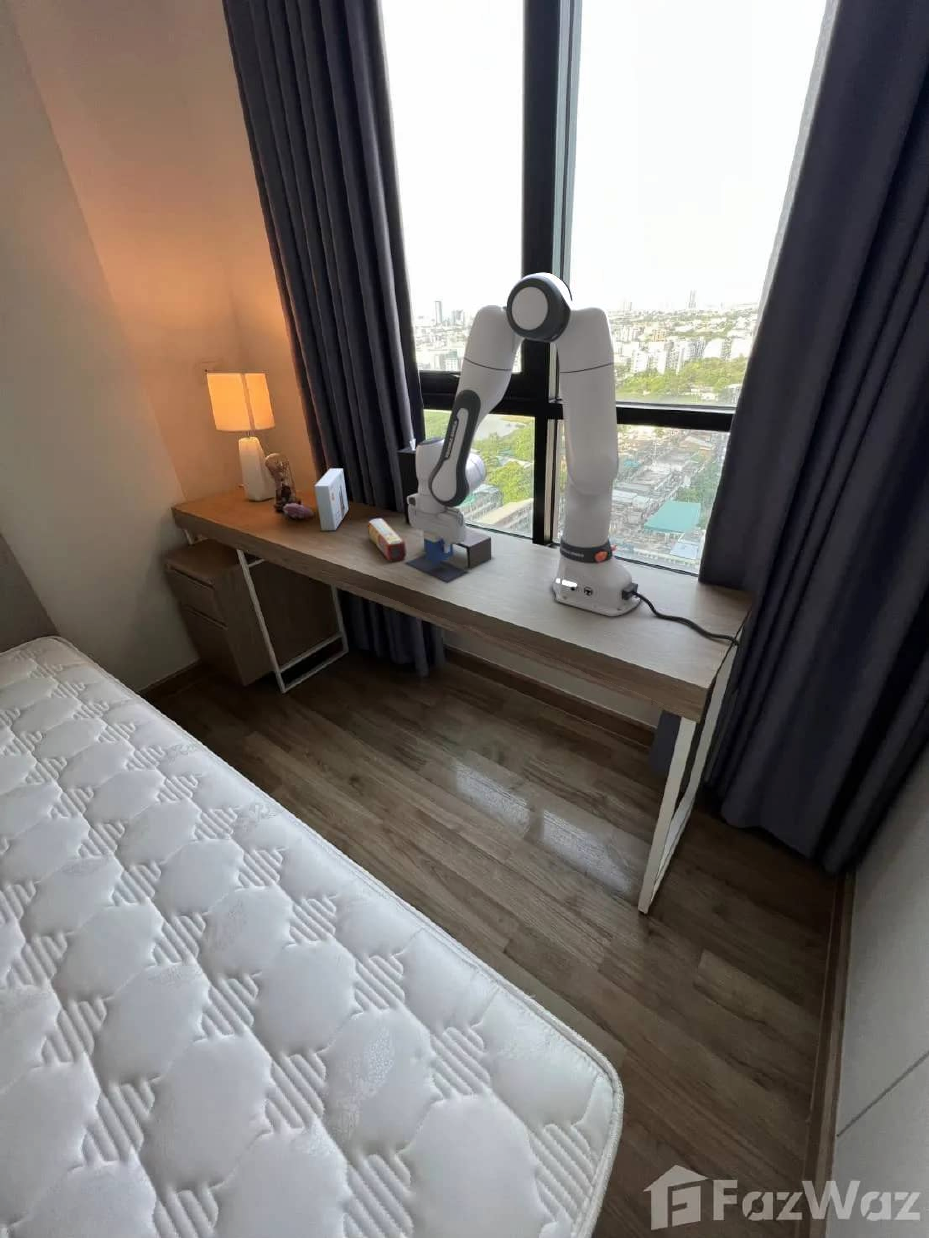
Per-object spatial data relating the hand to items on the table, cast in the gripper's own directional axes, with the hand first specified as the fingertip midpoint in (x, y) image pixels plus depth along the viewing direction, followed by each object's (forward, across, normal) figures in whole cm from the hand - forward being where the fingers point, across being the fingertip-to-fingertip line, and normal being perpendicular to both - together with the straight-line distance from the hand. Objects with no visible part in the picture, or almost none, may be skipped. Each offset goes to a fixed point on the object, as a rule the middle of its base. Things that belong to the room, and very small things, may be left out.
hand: (438, 548), depth 140 cm
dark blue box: (+3, 0, 0) cm, 3 cm away
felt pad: (+7, +2, 0) cm, 7 cm away
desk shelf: (+7, +4, -11) cm, 13 cm away
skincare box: (+7, +59, -2) cm, 59 cm away
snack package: (+7, +24, +1) cm, 25 cm away
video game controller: (+7, +72, +6) cm, 72 cm away
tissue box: (+7, +34, -21) cm, 41 cm away
